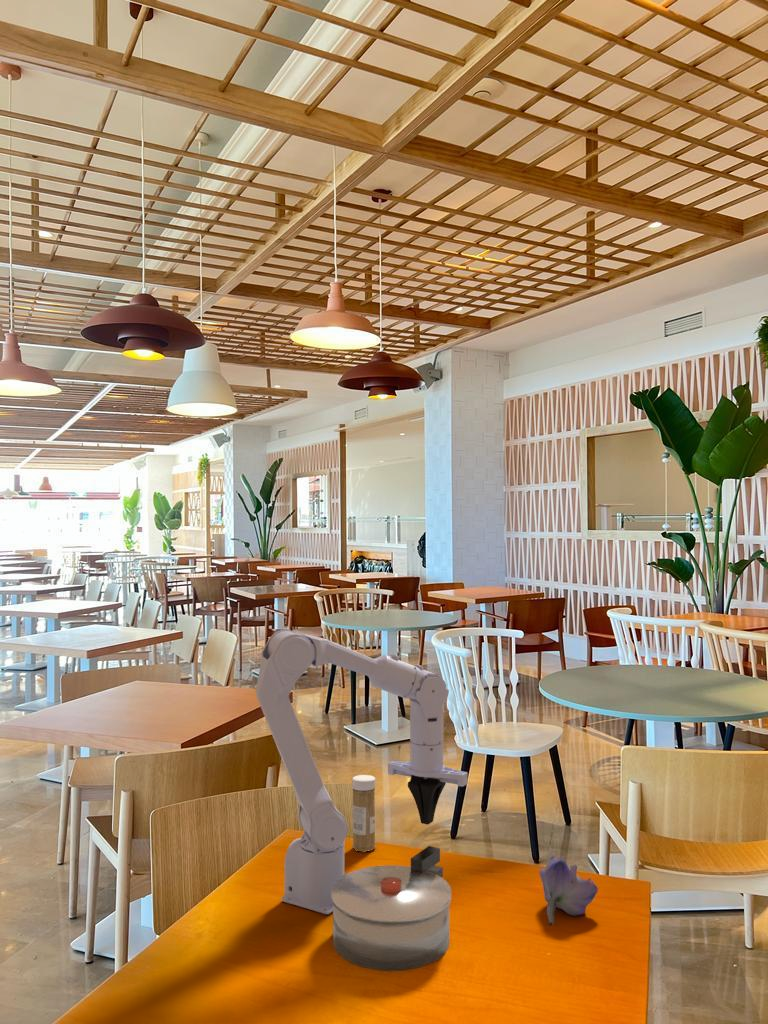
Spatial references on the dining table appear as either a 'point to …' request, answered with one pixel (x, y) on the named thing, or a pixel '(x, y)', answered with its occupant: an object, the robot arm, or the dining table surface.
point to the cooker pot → (392, 940)
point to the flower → (565, 888)
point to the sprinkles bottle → (363, 812)
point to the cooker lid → (393, 891)
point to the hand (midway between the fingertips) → (427, 822)
